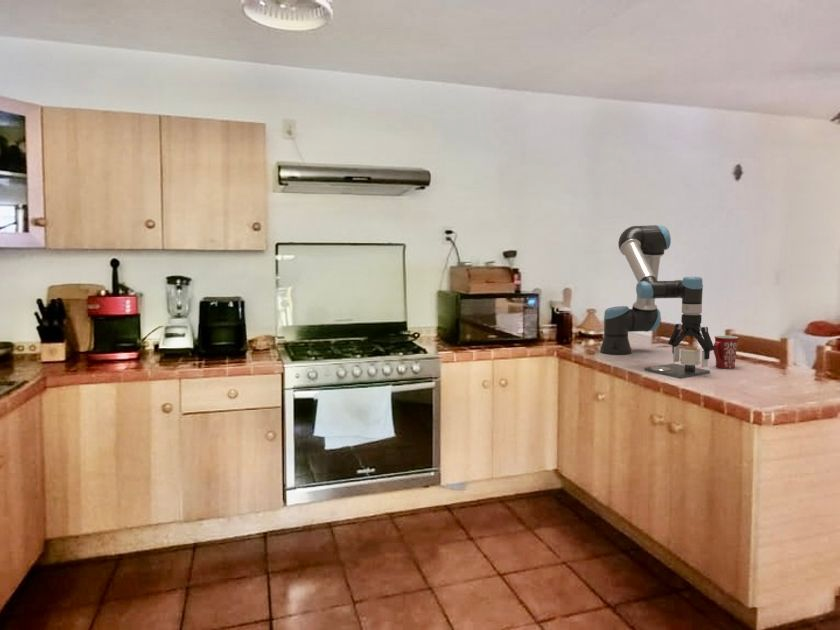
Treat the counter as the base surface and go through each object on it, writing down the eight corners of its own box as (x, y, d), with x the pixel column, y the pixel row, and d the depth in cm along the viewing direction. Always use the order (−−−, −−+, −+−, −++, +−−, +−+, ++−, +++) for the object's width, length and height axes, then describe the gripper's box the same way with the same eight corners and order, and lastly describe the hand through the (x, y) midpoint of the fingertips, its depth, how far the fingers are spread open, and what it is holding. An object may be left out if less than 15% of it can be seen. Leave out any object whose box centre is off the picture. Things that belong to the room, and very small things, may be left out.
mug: (721, 364, 250) (722, 334, 248) (741, 367, 242) (742, 336, 240) (703, 367, 244) (704, 337, 242) (723, 371, 236) (724, 339, 234)
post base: (644, 370, 240) (644, 350, 239) (673, 366, 248) (674, 346, 247) (680, 378, 224) (680, 356, 223) (710, 373, 232) (710, 352, 231)
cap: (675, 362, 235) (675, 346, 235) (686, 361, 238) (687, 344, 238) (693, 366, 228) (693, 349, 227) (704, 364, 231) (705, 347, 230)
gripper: (660, 312, 240) (659, 360, 243) (712, 317, 218) (711, 370, 220) (672, 310, 244) (671, 358, 246) (725, 315, 221) (723, 368, 224)
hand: (690, 364), depth 233 cm, fingers open, 13 cm apart
